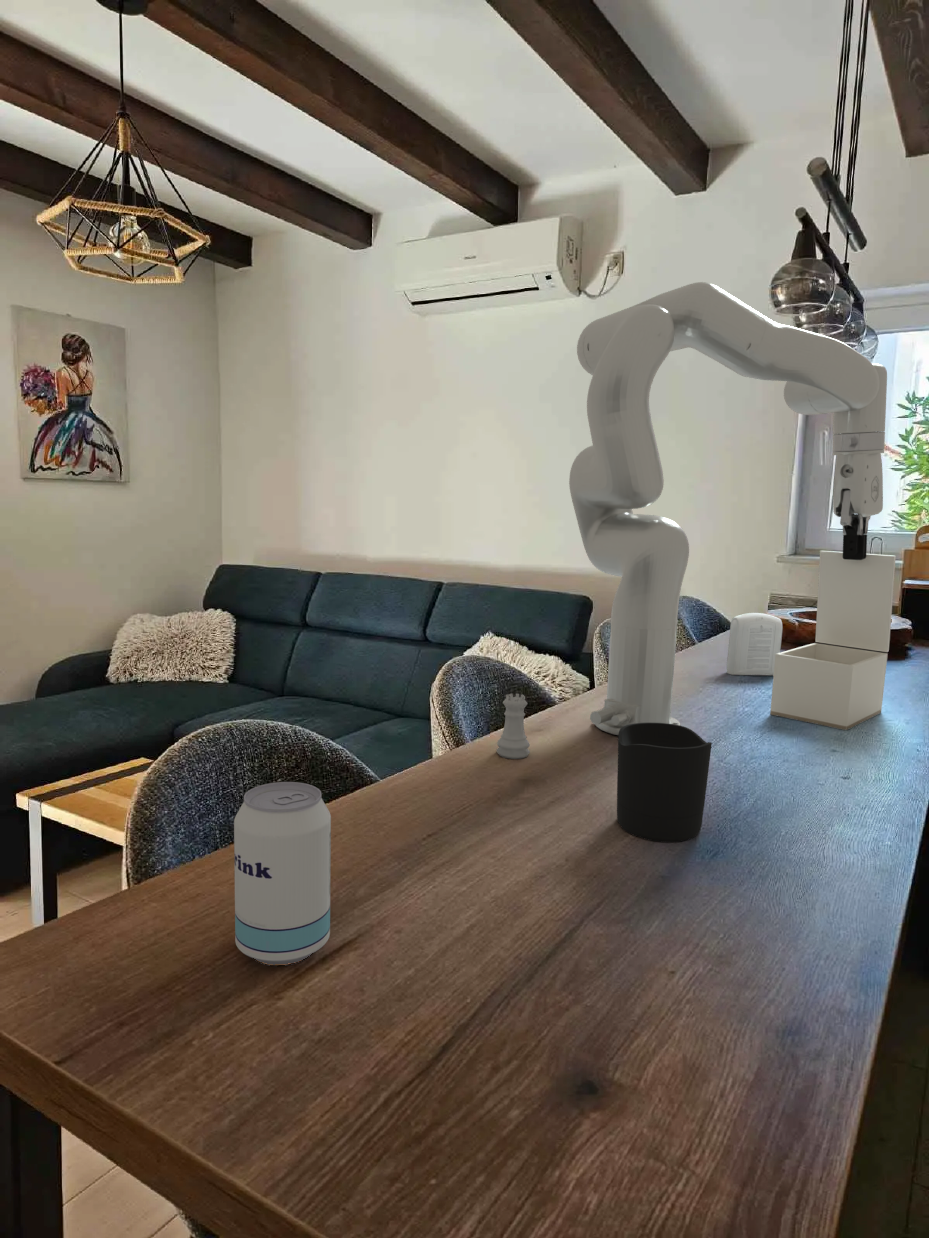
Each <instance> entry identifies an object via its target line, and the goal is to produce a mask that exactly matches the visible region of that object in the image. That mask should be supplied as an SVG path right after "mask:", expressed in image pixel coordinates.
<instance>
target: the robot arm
mask: <svg viewBox="0 0 929 1238" xmlns="http://www.w3.org/2000/svg"><path fill="white" fill-rule="evenodd" d="M688 348H690V349H693V350H696V351H697V352H699V353H700V354H702V355H704V356H706V357H708V358H710V359H712V360H713V361H714V362H717V363H719V364H721V365H722V366H724V367H725V368H727V369H729V370H731V371H732V372H733V373H736V374H737V375H738V376H742V377H745V378H749V379H755V380H762V381H772V382H773V381H774V382H775V381H776V382H777V381H778V382H779V381H780V382H785V384H784V388H783V398H784V401H785V403H786V405H787V407H788V408H789V409H790V410H792V411H793V412H795V413H796V414H799V415H805V416H816V415H826V414H833V420H832V421H833V428H832V429H833V431H832V456H836V460H835V467H834V479H833V480H834V481H833V490H832V491H833V494H832V495H833V496H832V509H833V514H834V516H836V517H837V518H839V524H840V526H842V536H843V537H842V538H843V539H842V552H843V559H847V560H862V559H865V558H866V554H867V551H868V550H867V547H868V545H867V544H868V531H869V529H868V528H869V521H870V520H871V516H876V515H879V514H880V513H881V512H882V511H883V507H884V489H883V488H884V482H883V480H884V479H883V477H884V476H883V474H884V473H883V461H882V454H884V453H885V442H886V441H885V440H886V432H885V431H886V414H887V411H886V410H887V394H888V393H887V388H888V372H887V368H886V367H885V366H884V365H883V364H879V363H872V362H871V360H869V358H867V357H866V356H864V355H863V354H862V353H860V352H859V351H857V350H856V349H854V348H853V347H851V346H849V345H848V344H846V343H844V342H843V341H840V340H838V339H836V338H832V337H830V336H826V335H824V334H820V333H817V332H813V331H809V330H805V329H801V328H798V327H794V326H792V325H791V326H790V325H787V324H781V323H778V322H776V321H773V320H772V319H770V318H768V317H767V316H766V315H763V314H762V313H760V312H759V311H757V310H756V309H754V308H752V307H751V306H749V305H748V304H746V303H744V302H743V301H742V300H740V299H738V298H737V297H735V296H733V295H732V294H730V293H728V292H727V291H726V290H724V289H722V288H720V286H718V285H715V284H713V283H709V282H703V281H700V282H692V283H689V284H686V285H683V286H681V287H677V288H674V289H672V290H668V291H665V292H663V293H660V294H658V295H656V296H654V297H651V298H649V299H646V300H644V301H642V302H639V303H637V304H635V305H632V306H629V307H627V308H624V309H622V310H619V311H616V312H614V313H611V314H608V315H605V316H603V317H600V318H597V319H595V320H593V321H591V322H589V323H588V325H586V327H584V328H583V330H582V331H581V334H580V335H579V338H578V340H577V344H576V354H577V358H578V361H579V363H580V365H581V367H582V368H583V369H584V370H585V372H586V373H588V374H590V376H592V377H591V380H590V383H589V387H588V391H587V397H586V413H587V415H586V416H587V420H588V426H589V430H590V431H589V432H590V436H591V438H590V439H591V441H592V444H591V445H590V446H587V447H586V448H583V450H581V451H580V452H579V453H578V454H577V456H576V457H575V458H574V461H573V462H572V464H571V467H570V471H569V481H568V482H569V483H568V484H569V485H568V486H569V493H570V497H571V500H572V501H571V503H572V505H573V509H574V510H573V511H574V514H575V518H576V521H577V525H578V530H579V533H580V536H581V540H582V544H583V545H582V546H583V547H584V550H585V551H584V552H585V553H586V556H587V558H588V559H589V562H590V563H591V564H592V565H593V567H595V568H596V569H597V570H599V571H600V572H602V573H605V574H608V575H611V576H614V577H616V576H617V577H621V579H620V581H619V583H618V586H617V588H616V591H615V593H614V597H613V599H612V600H613V601H612V604H611V605H612V606H611V613H610V614H611V615H610V633H609V634H610V637H609V651H608V652H609V653H608V668H607V669H608V670H607V688H606V698H605V699H604V703H603V704H604V705H603V708H602V709H598V710H594V711H593V712H591V713H590V716H589V719H590V722H591V723H592V724H593V725H594V726H596V728H597V729H599V730H601V731H603V732H605V733H608V734H611V735H614V736H618V734H619V731H620V729H621V728H622V727H623V726H625V725H629V724H634V723H667V724H675V725H680V726H682V724H681V722H680V721H679V720H678V719H677V718H674V717H672V716H671V715H672V701H673V689H674V688H673V687H674V684H673V683H674V674H675V661H676V660H675V659H676V658H675V657H676V648H677V647H676V645H677V631H678V613H679V606H680V605H679V603H680V595H681V592H682V591H681V590H682V585H683V582H684V581H683V580H684V577H685V574H686V570H687V566H688V562H689V557H690V544H689V539H688V536H687V535H686V534H687V533H685V531H684V529H683V528H682V526H680V525H679V524H678V523H677V522H676V521H674V520H672V519H670V518H667V517H664V516H661V515H655V514H641V513H636V514H635V513H634V512H633V510H636V509H637V510H638V509H642V508H646V507H648V506H651V505H652V504H654V503H656V501H657V500H658V499H659V498H660V497H661V495H662V492H663V490H664V485H665V484H664V481H665V480H664V479H665V478H664V473H663V472H664V471H663V467H662V463H661V462H662V461H661V457H660V453H659V448H658V443H657V439H656V435H655V429H654V426H653V422H652V421H653V420H652V416H651V409H650V392H651V388H652V384H653V382H654V379H655V377H656V374H657V373H658V371H659V368H660V367H661V366H662V364H663V363H664V361H665V360H666V358H668V357H669V354H670V353H671V352H673V351H678V350H683V349H688Z"/></svg>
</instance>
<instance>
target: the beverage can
mask: <svg viewBox="0 0 929 1238" xmlns="http://www.w3.org/2000/svg"><path fill="white" fill-rule="evenodd" d="M331 823H332V816H331V812H330V811H329V808H328V807H327V805H326V804H325V802H324V799H323V798H322V791H321V790H320V788H318V787H316V786H314V785H313V784H308V783H304V782H297V781H296V782H295V781H281V782H270V783H265V784H261V785H258V786H255V787H252V788H251V789H249V790H248V791H246V792H245V794H244V795H243V802H242V804H241V806H240V807H239V809H238V811H237V813H236V815H235V816H234V821H233V839H234V840H233V845H234V847H233V848H234V851H233V852H234V853H233V854H234V856H233V857H234V860H233V861H234V925H235V926H234V930H235V931H234V933H235V934H234V935H235V937H234V940H235V945H236V947H237V949H238V950H239V952H241V953H243V954H244V955H245V956H247V957H249V958H251V959H253V958H254V959H256V960H258V961H260V962H264V963H267V964H273V965H275V964H288V963H294V962H298V961H300V960H303V959H305V958H307V957H308V956H309V957H311V956H312V955H313V954H314V953H315V952H317V951H319V950H320V949H321V948H322V947H324V946H325V944H327V942H328V941H329V939H330V937H331V936H330V935H331V855H332V853H331V849H332V848H331V847H332V845H331V842H332V841H331V839H332V836H331V835H332V834H331V833H332V832H331V831H332V828H331V827H332V826H331V825H332V824H331ZM312 953H313V954H312ZM311 954H312V955H311ZM310 955H311V956H310ZM309 957H308V958H309ZM308 958H307V959H308ZM254 959H253V960H254ZM256 960H255V961H256ZM305 960H306V959H305ZM303 961H304V960H303ZM298 963H299V962H298Z"/></svg>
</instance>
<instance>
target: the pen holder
mask: <svg viewBox="0 0 929 1238" xmlns="http://www.w3.org/2000/svg"><path fill="white" fill-rule="evenodd" d="M617 736H618V737H617V772H616V774H617V775H616V776H617V777H616V779H617V782H616V784H617V785H616V819H617V820H616V821H617V823H618V824H619V826H620V827H621V829H623V831H625V832H627V833H629V834H630V835H632V836H634V837H635V836H636V837H638V838H641V839H644V838H645V839H644V840H648V839H649V840H648V841H653V840H656V841H655V842H661V841H662V842H663V843H676V842H685V841H689V840H692V839H693V838H695V837H696V836H697V835H698V834H699V833H700V831H701V830H702V824H703V815H704V810H705V809H704V808H705V802H706V794H707V787H708V780H709V779H708V777H709V769H710V759H711V752H712V744H713V742H710V741H709V742H708V741H706V740H704V739H703V738H702V737H701V736H700V735H699V734H697V733H696V732H695V731H693V729H691V728H688V727H686V726H683V725H681V726H680V725H675V724H667V723H634V724H629V725H625V726H623V727H622V728H621V729H620V731H619V734H618V735H617ZM691 838H692V839H691ZM688 839H689V840H688ZM684 840H685V841H684Z"/></svg>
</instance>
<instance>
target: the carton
mask: <svg viewBox="0 0 929 1238" xmlns="http://www.w3.org/2000/svg"><path fill="white" fill-rule="evenodd" d="M888 654H889V653H887V652H880V651H873V650H867V649H860V648H853V647H846V646H839V645H832V644H825V643H818V642H814V643H810V644H805V645H803V646H798V647H796V648H791V649H788V650H786V651H785V650H784V651H780V653H777V654H775V665H774V676H773V678H772V679H773V680H772V689H771V701H770V715H771V716H777V717H781V718H786V719H791V720H795V721H800V722H805V723H810V724H814V725H820V726H825V727H828V728H834V729H838V730H843V731H848V730H850V729H852V728H854V727H857V726H858V725H859V724H862V723H864V722H866V721H868V720H869V719H871V718H874V717H875V716H877V715H880V714H882V709H883V700H884V692H885V691H884V690H885V680H886V673H887V663H888Z"/></svg>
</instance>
